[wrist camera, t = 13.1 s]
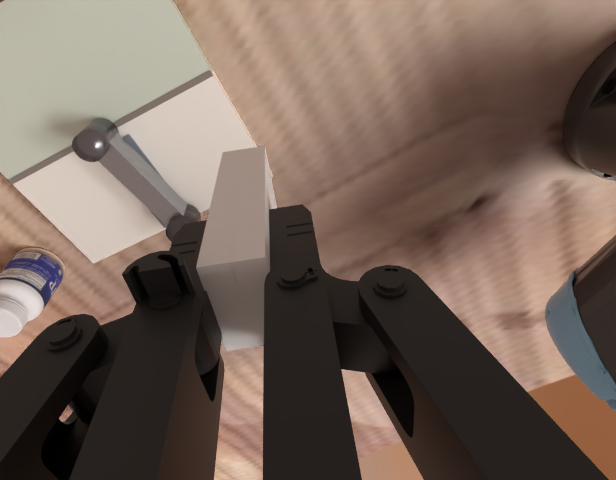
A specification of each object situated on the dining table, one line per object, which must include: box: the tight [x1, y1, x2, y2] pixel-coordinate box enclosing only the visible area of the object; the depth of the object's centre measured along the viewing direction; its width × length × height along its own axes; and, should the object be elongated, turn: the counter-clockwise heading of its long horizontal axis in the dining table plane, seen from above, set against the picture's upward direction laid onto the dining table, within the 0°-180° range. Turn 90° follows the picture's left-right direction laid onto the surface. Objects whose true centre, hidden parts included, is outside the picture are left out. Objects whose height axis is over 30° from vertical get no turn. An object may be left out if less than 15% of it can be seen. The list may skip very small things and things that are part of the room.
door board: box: [0, 0, 273, 264], centre depth 36 cm, size 22×22×1 cm
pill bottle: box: [0, 248, 65, 337], centre depth 41 cm, size 5×5×9 cm
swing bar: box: [72, 118, 201, 241], centre depth 37 cm, size 13×3×4 cm, turn 33°
